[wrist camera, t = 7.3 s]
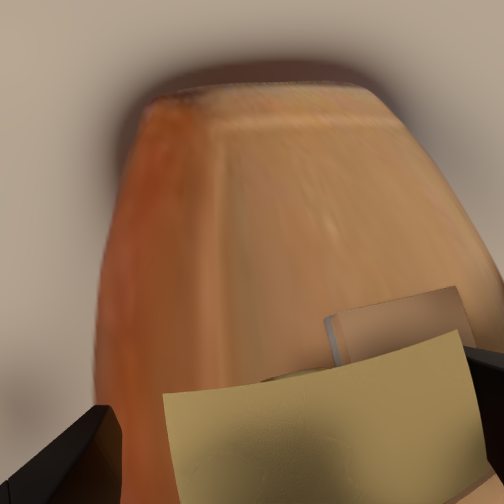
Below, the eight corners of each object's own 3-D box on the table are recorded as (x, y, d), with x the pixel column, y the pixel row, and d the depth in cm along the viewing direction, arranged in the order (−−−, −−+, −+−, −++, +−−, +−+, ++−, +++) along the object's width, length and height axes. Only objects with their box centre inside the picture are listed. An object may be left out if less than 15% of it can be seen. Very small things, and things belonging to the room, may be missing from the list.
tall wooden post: (328, 453, 11) (488, 471, 3) (219, 474, 11) (201, 576, 2) (314, 388, 13) (451, 312, 5) (207, 406, 12) (160, 369, 4)
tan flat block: (486, 470, 10) (502, 470, 9) (368, 538, 9) (381, 546, 7) (442, 293, 16) (455, 281, 15) (323, 319, 15) (332, 308, 14)
